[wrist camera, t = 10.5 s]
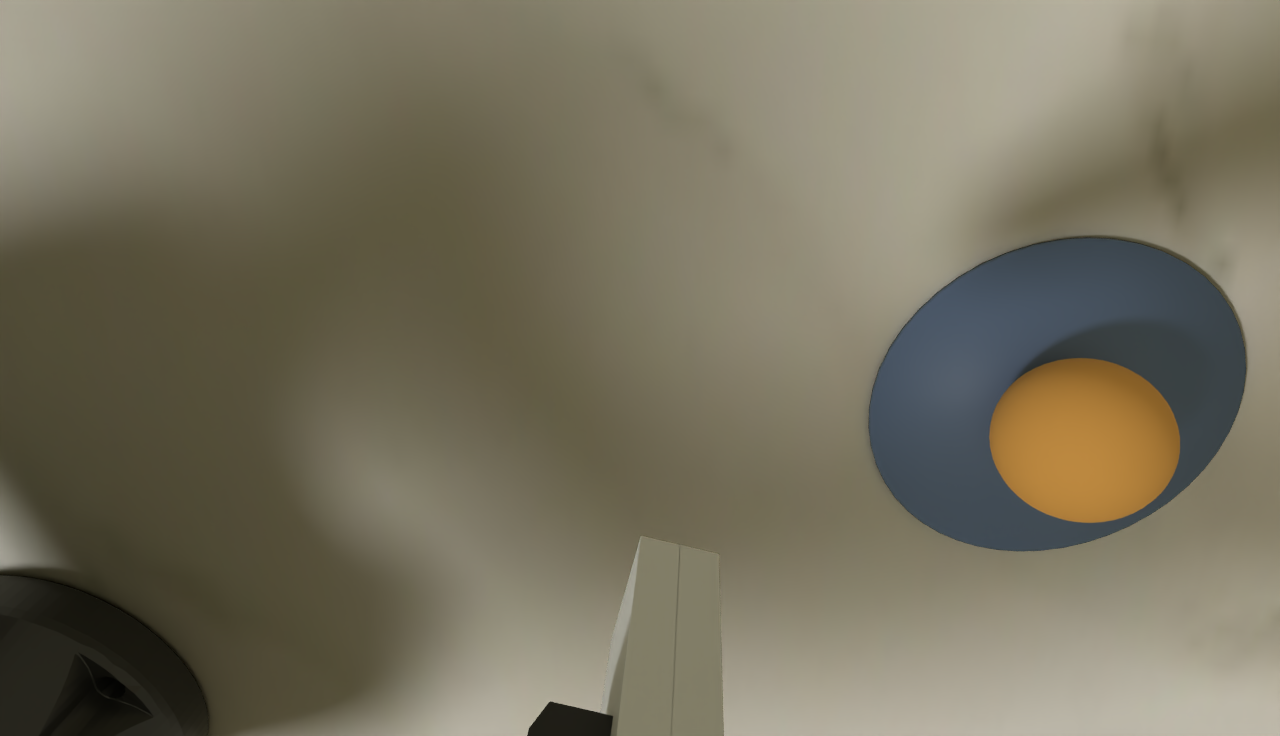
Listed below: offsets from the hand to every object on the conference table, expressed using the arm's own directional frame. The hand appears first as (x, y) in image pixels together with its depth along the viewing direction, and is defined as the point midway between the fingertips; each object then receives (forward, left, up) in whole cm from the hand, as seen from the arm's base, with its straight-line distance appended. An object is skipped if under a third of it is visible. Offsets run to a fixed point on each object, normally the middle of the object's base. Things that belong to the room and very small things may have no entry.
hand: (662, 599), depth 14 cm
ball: (+14, 0, -12) cm, 18 cm away
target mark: (+14, 0, -14) cm, 20 cm away
